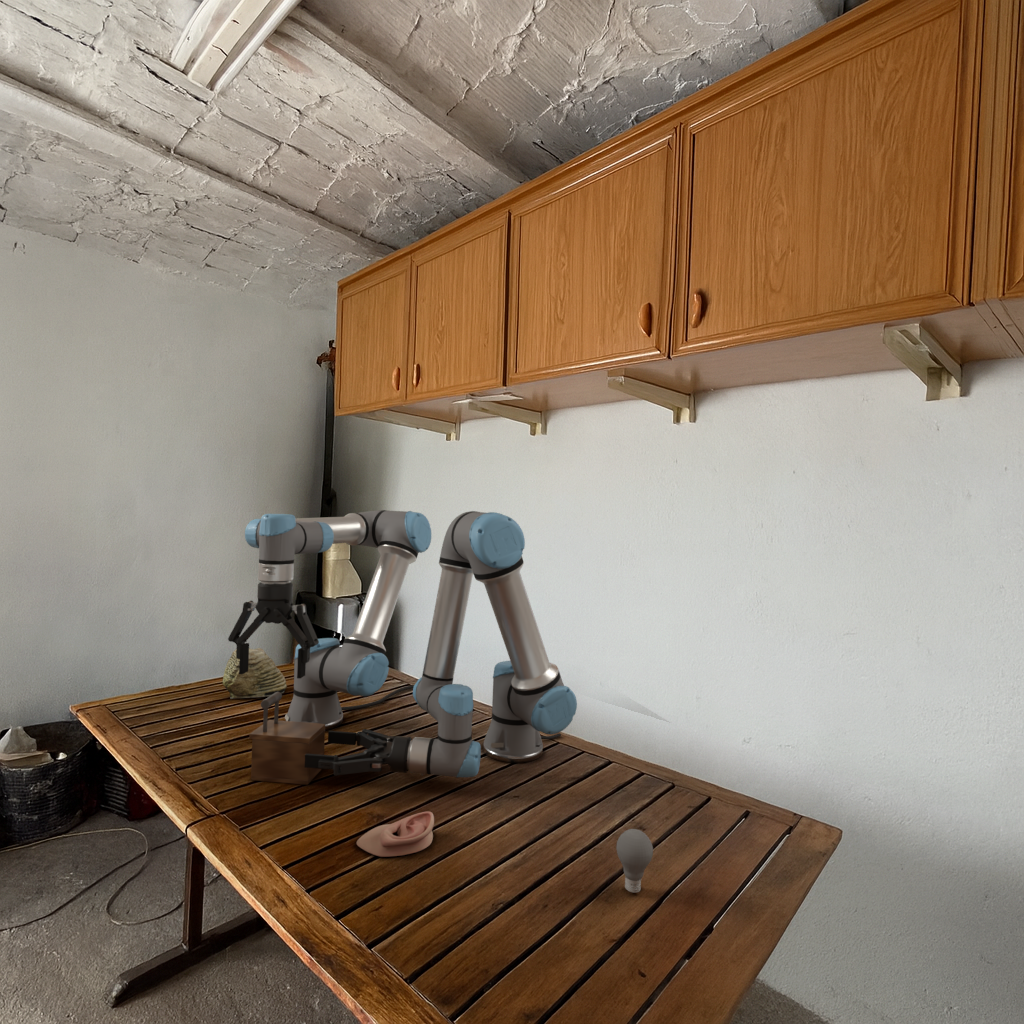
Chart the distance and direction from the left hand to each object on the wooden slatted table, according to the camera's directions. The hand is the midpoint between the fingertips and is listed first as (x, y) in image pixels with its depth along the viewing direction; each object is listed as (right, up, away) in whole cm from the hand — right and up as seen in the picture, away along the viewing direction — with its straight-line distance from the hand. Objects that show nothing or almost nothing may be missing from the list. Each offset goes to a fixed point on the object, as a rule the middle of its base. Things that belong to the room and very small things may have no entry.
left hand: (272, 674), depth 144 cm
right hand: (+11, -16, -2) cm, 19 cm away
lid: (+4, -13, 0) cm, 14 cm away
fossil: (-26, -20, +54) cm, 63 cm away
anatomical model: (+33, -24, -26) cm, 49 cm away
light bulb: (+75, -26, -38) cm, 88 cm away
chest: (+4, -23, 0) cm, 23 cm away
